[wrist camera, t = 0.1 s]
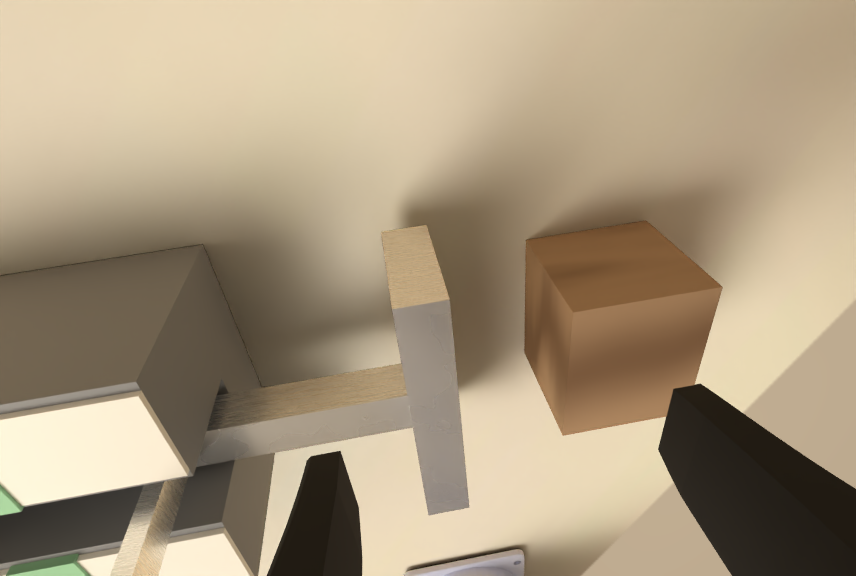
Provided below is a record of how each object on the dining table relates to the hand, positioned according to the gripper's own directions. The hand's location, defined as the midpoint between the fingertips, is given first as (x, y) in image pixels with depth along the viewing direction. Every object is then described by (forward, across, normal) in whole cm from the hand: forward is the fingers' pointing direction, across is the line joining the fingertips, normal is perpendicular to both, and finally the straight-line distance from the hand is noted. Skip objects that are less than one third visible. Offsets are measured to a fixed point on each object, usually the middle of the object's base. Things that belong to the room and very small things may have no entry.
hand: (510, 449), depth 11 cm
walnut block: (+10, -6, +4) cm, 12 cm away
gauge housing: (+10, +14, +4) cm, 17 cm away
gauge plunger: (+9, +6, +4) cm, 11 cm away
